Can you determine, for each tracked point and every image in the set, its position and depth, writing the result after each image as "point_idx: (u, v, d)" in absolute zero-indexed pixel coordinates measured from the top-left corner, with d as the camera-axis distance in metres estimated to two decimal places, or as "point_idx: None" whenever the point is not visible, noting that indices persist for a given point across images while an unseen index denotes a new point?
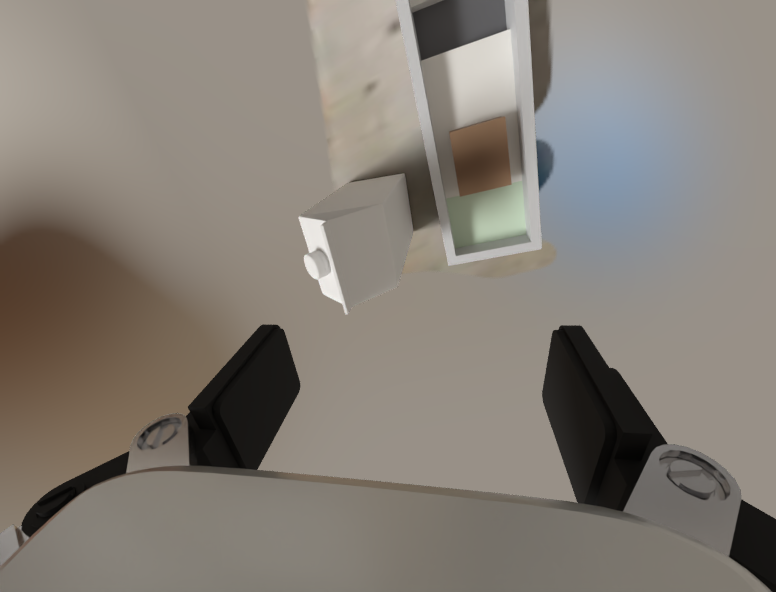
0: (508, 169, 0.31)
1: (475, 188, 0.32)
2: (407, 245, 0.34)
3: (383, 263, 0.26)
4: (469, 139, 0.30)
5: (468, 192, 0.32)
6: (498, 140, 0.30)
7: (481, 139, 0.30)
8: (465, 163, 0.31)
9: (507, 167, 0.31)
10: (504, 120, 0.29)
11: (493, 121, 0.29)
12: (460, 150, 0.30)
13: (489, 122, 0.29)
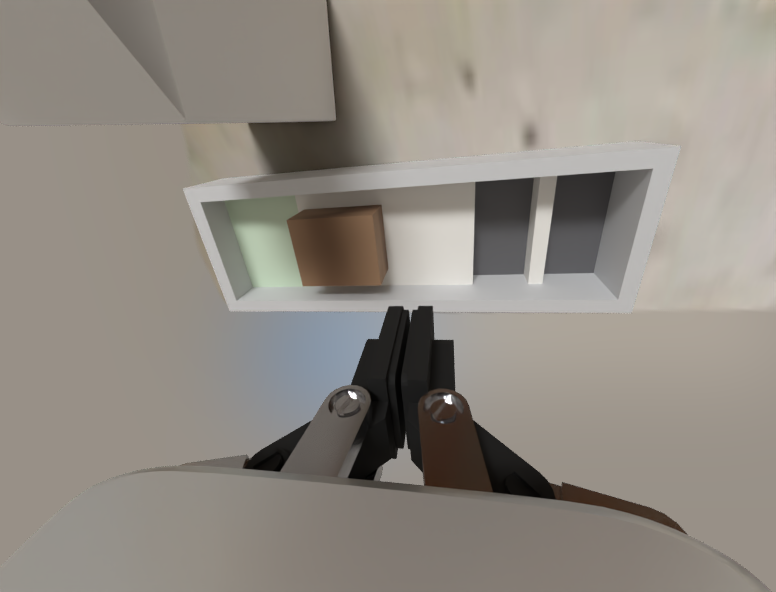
0: (320, 284, 0.24)
1: (297, 242, 0.22)
2: None
3: (30, 97, 0.10)
4: (361, 241, 0.21)
5: (292, 233, 0.22)
6: (355, 276, 0.23)
7: (359, 256, 0.22)
8: (330, 233, 0.22)
9: (323, 283, 0.23)
10: (376, 284, 0.23)
11: (377, 272, 0.22)
12: (348, 227, 0.21)
13: (377, 267, 0.22)
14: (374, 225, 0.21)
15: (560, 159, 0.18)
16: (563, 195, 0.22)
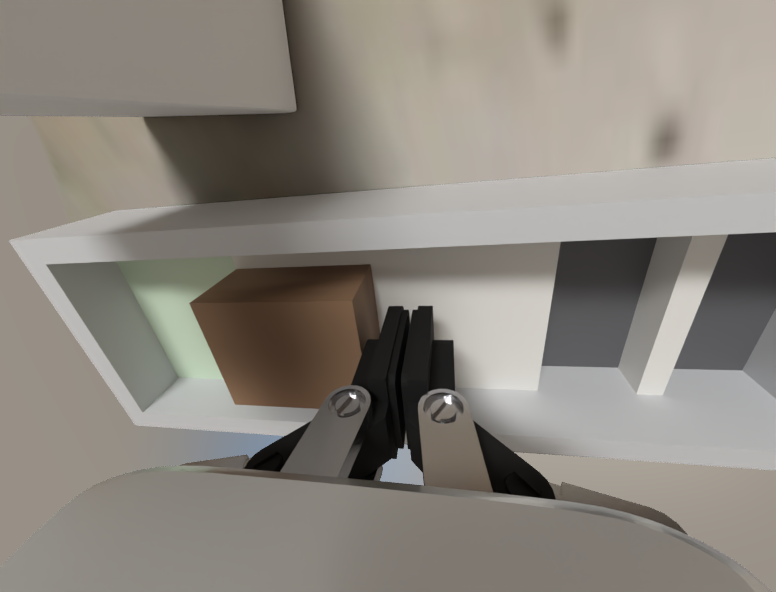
0: (265, 403, 0.13)
1: (215, 340, 0.12)
2: None
3: None
4: (332, 343, 0.11)
5: (204, 324, 0.12)
6: (324, 395, 0.13)
7: (329, 367, 0.12)
8: (274, 328, 0.11)
9: (269, 402, 0.13)
10: None
11: None
12: (306, 320, 0.11)
13: None
14: (356, 316, 0.11)
15: None
16: None
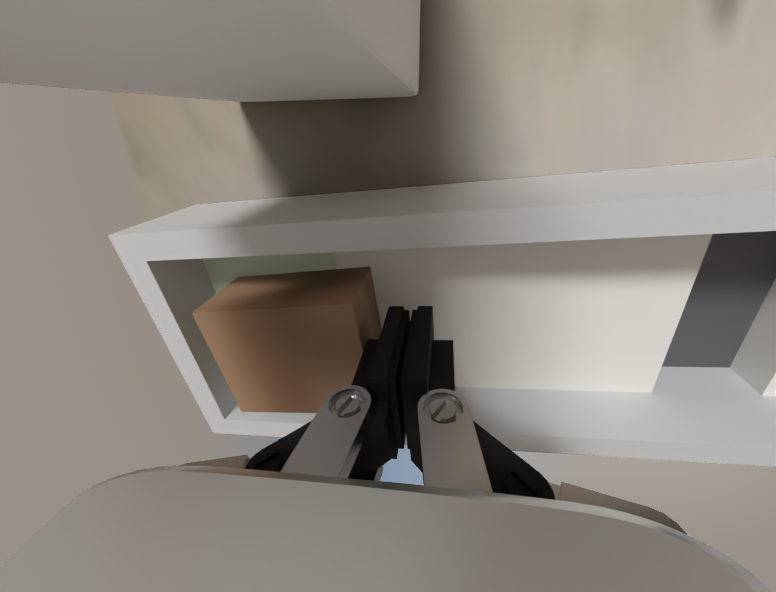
0: (271, 409, 0.13)
1: (219, 348, 0.12)
2: (86, 88, 0.07)
3: None
4: (334, 347, 0.11)
5: (207, 333, 0.12)
6: None
7: (333, 371, 0.12)
8: (276, 334, 0.11)
9: (275, 408, 0.13)
10: None
11: None
12: (308, 324, 0.11)
13: None
14: (357, 319, 0.11)
15: None
16: None
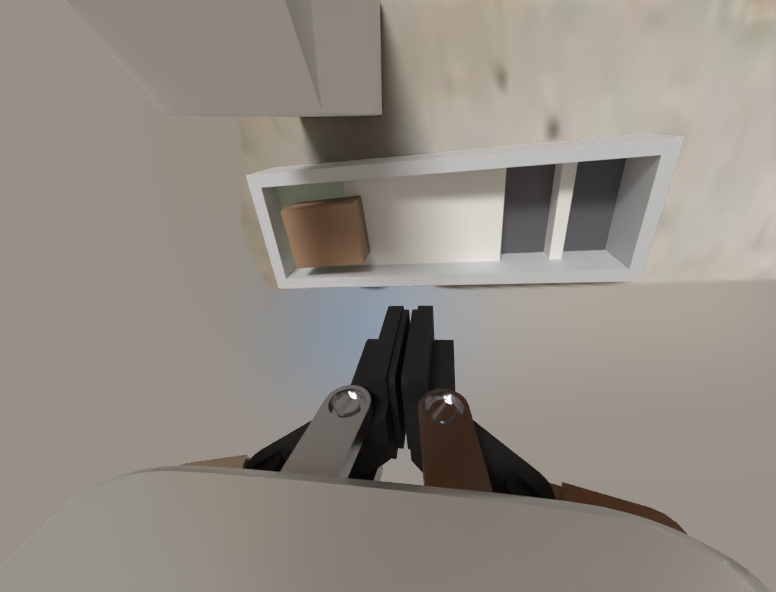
0: (312, 265, 0.28)
1: (290, 230, 0.26)
2: None
3: (201, 92, 0.12)
4: (344, 226, 0.25)
5: (286, 222, 0.26)
6: (340, 256, 0.27)
7: (343, 239, 0.26)
8: (318, 220, 0.26)
9: (314, 264, 0.27)
10: (360, 262, 0.27)
11: (360, 252, 0.26)
12: (332, 214, 0.25)
13: (359, 248, 0.26)
14: (354, 212, 0.25)
15: (584, 147, 0.21)
16: (580, 180, 0.26)
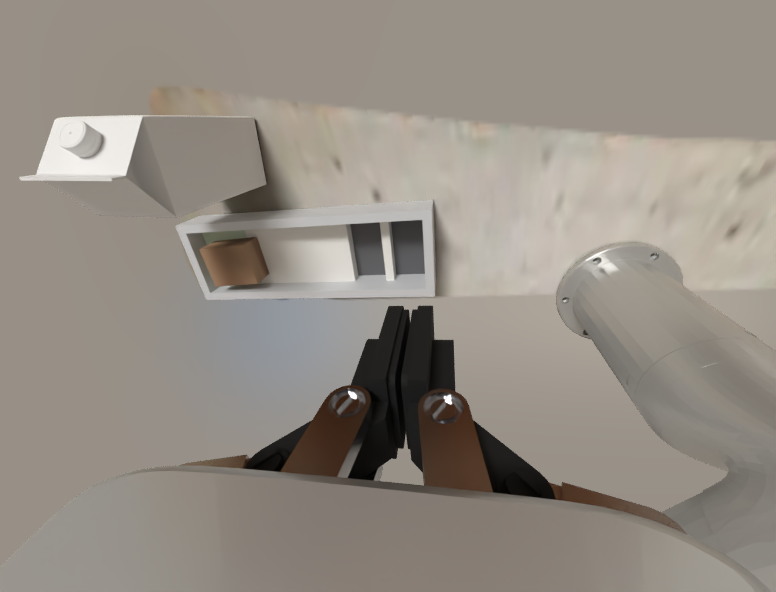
0: (225, 284, 0.40)
1: (207, 261, 0.39)
2: None
3: (115, 209, 0.25)
4: (241, 259, 0.38)
5: (203, 256, 0.39)
6: (242, 279, 0.39)
7: (242, 267, 0.38)
8: (224, 255, 0.38)
9: (226, 284, 0.40)
10: (255, 283, 0.39)
11: (254, 276, 0.39)
12: (232, 252, 0.38)
13: (253, 273, 0.39)
14: (246, 250, 0.37)
15: (377, 214, 0.33)
16: (400, 228, 0.38)
